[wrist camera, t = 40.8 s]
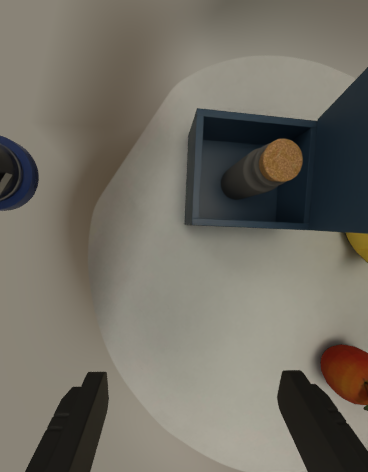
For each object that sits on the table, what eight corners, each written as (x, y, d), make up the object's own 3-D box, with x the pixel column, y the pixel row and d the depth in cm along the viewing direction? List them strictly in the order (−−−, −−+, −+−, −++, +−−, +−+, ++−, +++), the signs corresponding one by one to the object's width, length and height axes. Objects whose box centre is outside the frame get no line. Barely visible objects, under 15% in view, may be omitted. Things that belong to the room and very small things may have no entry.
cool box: (184, 224, 39) (191, 225, 30) (188, 134, 38) (197, 108, 29) (277, 228, 41) (309, 230, 32) (282, 143, 40) (318, 120, 31)
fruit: (362, 352, 45) (419, 389, 35) (335, 388, 45) (384, 435, 35) (330, 327, 44) (381, 357, 34) (302, 364, 44) (344, 406, 34)
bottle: (235, 206, 39) (281, 197, 24) (213, 182, 38) (248, 157, 23) (257, 184, 39) (318, 162, 24) (237, 160, 38) (285, 121, 23)
